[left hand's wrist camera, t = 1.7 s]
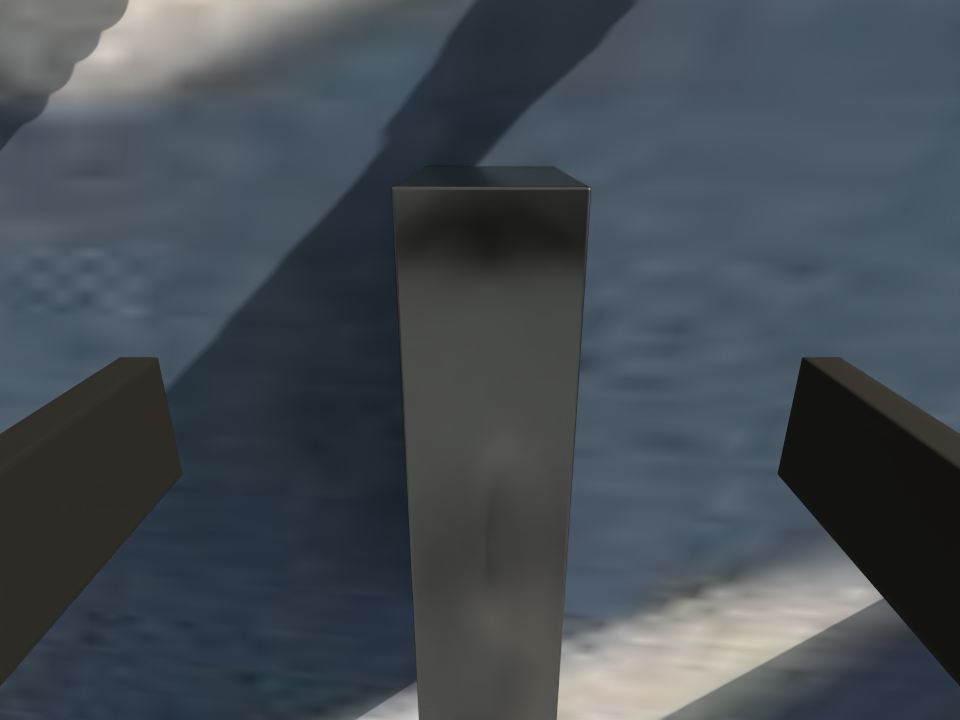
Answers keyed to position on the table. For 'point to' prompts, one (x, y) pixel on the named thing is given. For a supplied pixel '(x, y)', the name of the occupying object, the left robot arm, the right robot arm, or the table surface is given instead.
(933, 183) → the table surface
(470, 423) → the bar
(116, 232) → the table surface
